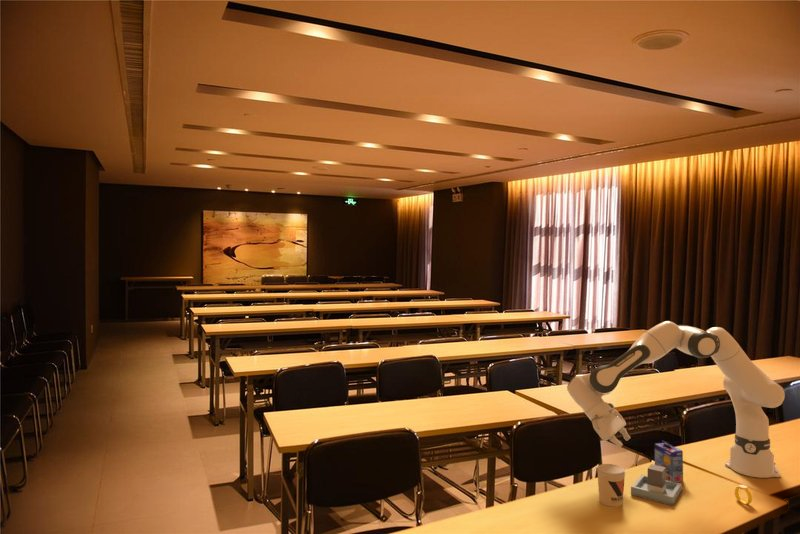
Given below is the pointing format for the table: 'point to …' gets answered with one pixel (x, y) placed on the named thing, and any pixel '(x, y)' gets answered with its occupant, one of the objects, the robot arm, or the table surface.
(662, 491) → the block
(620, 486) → the coffee cup
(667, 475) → the ink cartridge box
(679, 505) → the table surface
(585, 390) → the robot arm
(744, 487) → the watch
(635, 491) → the slate tray
